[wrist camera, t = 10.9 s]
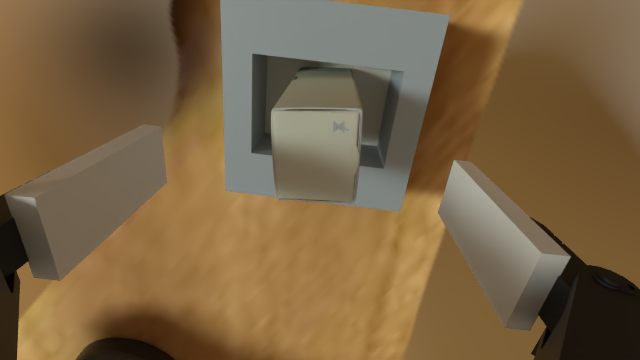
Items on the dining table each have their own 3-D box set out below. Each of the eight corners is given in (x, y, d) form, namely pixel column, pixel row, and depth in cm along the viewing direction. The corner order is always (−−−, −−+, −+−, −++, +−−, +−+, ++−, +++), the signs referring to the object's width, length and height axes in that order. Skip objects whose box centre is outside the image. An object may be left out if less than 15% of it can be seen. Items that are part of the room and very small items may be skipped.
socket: (244, 163, 31) (225, 191, 26) (244, -5, 24) (220, -13, 19) (390, 180, 31) (400, 211, 25) (427, 16, 24) (450, 14, 19)
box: (299, 66, 26) (266, 100, 14) (353, 67, 26) (365, 103, 14) (299, 129, 28) (272, 203, 17) (349, 131, 28) (357, 206, 16)
